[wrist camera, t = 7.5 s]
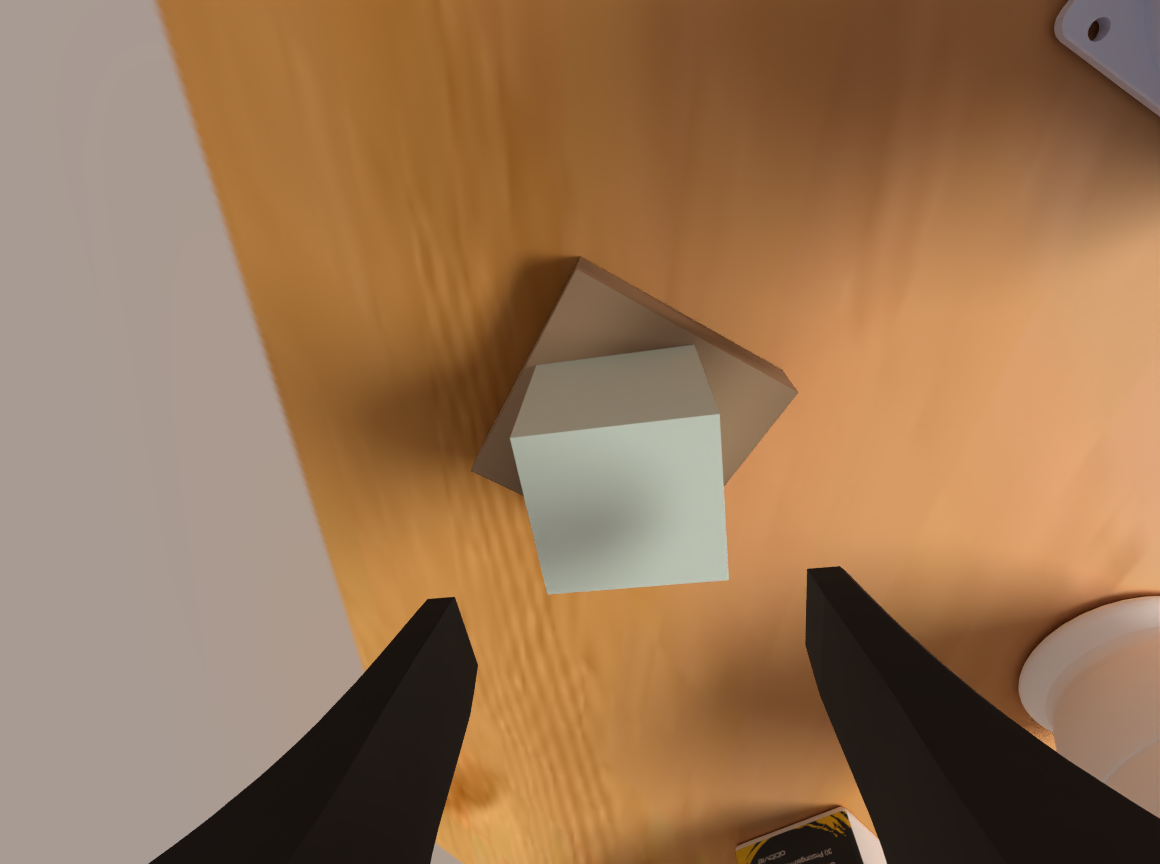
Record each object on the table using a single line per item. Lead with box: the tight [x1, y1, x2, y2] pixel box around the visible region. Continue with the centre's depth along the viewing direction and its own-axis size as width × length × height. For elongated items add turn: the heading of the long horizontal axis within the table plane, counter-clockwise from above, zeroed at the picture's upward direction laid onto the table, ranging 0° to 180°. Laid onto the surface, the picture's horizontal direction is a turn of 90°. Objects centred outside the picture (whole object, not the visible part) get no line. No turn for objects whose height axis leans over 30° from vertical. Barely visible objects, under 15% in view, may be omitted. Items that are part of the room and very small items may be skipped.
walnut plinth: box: [471, 256, 798, 496], centre depth 20 cm, size 8×8×2 cm
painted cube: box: [510, 345, 729, 594], centre depth 17 cm, size 5×5×5 cm
